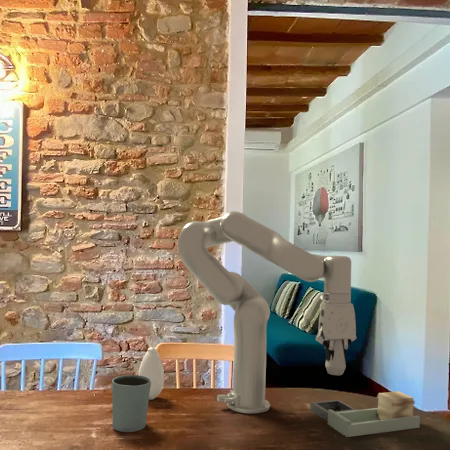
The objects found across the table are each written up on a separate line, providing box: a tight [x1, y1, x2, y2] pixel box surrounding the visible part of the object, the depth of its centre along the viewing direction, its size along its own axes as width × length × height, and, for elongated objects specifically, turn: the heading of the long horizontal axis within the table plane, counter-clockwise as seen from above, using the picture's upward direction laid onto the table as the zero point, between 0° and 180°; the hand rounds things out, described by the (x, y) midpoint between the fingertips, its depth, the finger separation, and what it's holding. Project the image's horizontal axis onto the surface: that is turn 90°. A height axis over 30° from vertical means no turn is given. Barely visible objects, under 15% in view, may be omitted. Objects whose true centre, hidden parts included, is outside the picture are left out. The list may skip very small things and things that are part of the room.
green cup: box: [111, 374, 151, 433], centre depth 137 cm, size 10×10×12 cm
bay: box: [327, 407, 421, 438], centre depth 142 cm, size 23×9×4 cm, turn 111°
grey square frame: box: [310, 399, 358, 422], centre depth 150 cm, size 10×10×2 cm
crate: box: [376, 390, 416, 420], centre depth 144 cm, size 7×7×7 cm
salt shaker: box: [324, 340, 347, 376], centre depth 150 cm, size 6×6×13 cm
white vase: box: [137, 339, 165, 401], centre depth 159 cm, size 8×8×18 cm
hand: (335, 362), depth 150 cm, fingers closed on salt shaker, 3 cm apart
